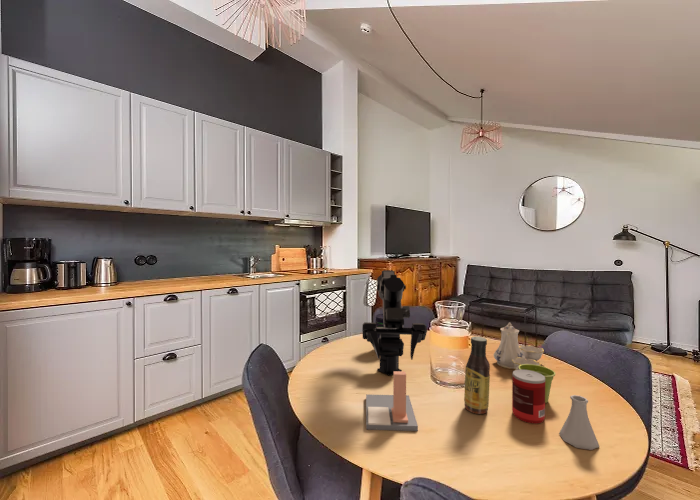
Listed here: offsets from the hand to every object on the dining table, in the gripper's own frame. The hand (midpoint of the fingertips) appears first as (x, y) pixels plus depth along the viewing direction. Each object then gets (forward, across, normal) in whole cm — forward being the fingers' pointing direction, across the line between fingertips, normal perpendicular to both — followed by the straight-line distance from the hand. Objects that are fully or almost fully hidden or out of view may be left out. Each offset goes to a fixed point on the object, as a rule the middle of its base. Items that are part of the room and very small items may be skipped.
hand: (395, 358), depth 90 cm
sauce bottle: (+10, +22, +9) cm, 26 cm away
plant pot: (+5, +42, +14) cm, 45 cm away
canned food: (+12, +35, +7) cm, 38 cm away
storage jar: (-23, 0, +44) cm, 49 cm away
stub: (+14, +1, +3) cm, 14 cm away
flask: (+19, +41, 0) cm, 45 cm away
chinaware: (-13, +48, +33) cm, 60 cm away
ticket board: (+12, -2, +6) cm, 14 cm away
